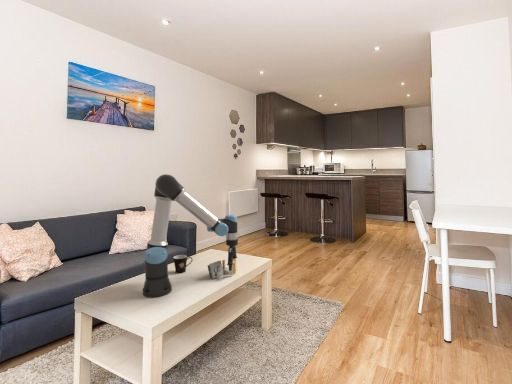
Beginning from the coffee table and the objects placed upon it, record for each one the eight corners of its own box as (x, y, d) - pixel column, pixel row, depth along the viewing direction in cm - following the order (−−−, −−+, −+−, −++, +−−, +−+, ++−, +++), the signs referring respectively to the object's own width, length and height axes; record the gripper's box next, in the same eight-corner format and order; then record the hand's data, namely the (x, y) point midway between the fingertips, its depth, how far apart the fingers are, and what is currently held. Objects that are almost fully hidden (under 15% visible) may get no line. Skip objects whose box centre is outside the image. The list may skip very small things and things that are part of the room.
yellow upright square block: (235, 273, 182) (235, 263, 181) (228, 273, 182) (228, 263, 182) (236, 271, 186) (236, 260, 186) (229, 271, 186) (229, 260, 186)
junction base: (220, 272, 185) (220, 270, 185) (219, 270, 189) (219, 267, 189) (227, 271, 186) (227, 269, 186) (226, 269, 190) (226, 267, 190)
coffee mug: (172, 274, 183) (171, 258, 182) (175, 269, 192) (175, 255, 191) (190, 273, 183) (190, 258, 183) (193, 269, 192) (192, 254, 191)
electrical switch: (213, 279, 173) (211, 264, 173) (207, 278, 176) (206, 263, 176) (224, 275, 180) (222, 260, 180) (218, 274, 183) (217, 259, 183)
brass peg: (222, 269, 186) (222, 260, 186) (222, 268, 188) (222, 260, 188) (225, 268, 187) (224, 260, 187) (224, 268, 188) (224, 260, 188)
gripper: (234, 243, 170) (235, 278, 172) (240, 234, 194) (240, 265, 196) (222, 243, 171) (223, 278, 172) (229, 234, 195) (230, 265, 196)
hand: (232, 271), depth 184 cm, fingers open, 12 cm apart
